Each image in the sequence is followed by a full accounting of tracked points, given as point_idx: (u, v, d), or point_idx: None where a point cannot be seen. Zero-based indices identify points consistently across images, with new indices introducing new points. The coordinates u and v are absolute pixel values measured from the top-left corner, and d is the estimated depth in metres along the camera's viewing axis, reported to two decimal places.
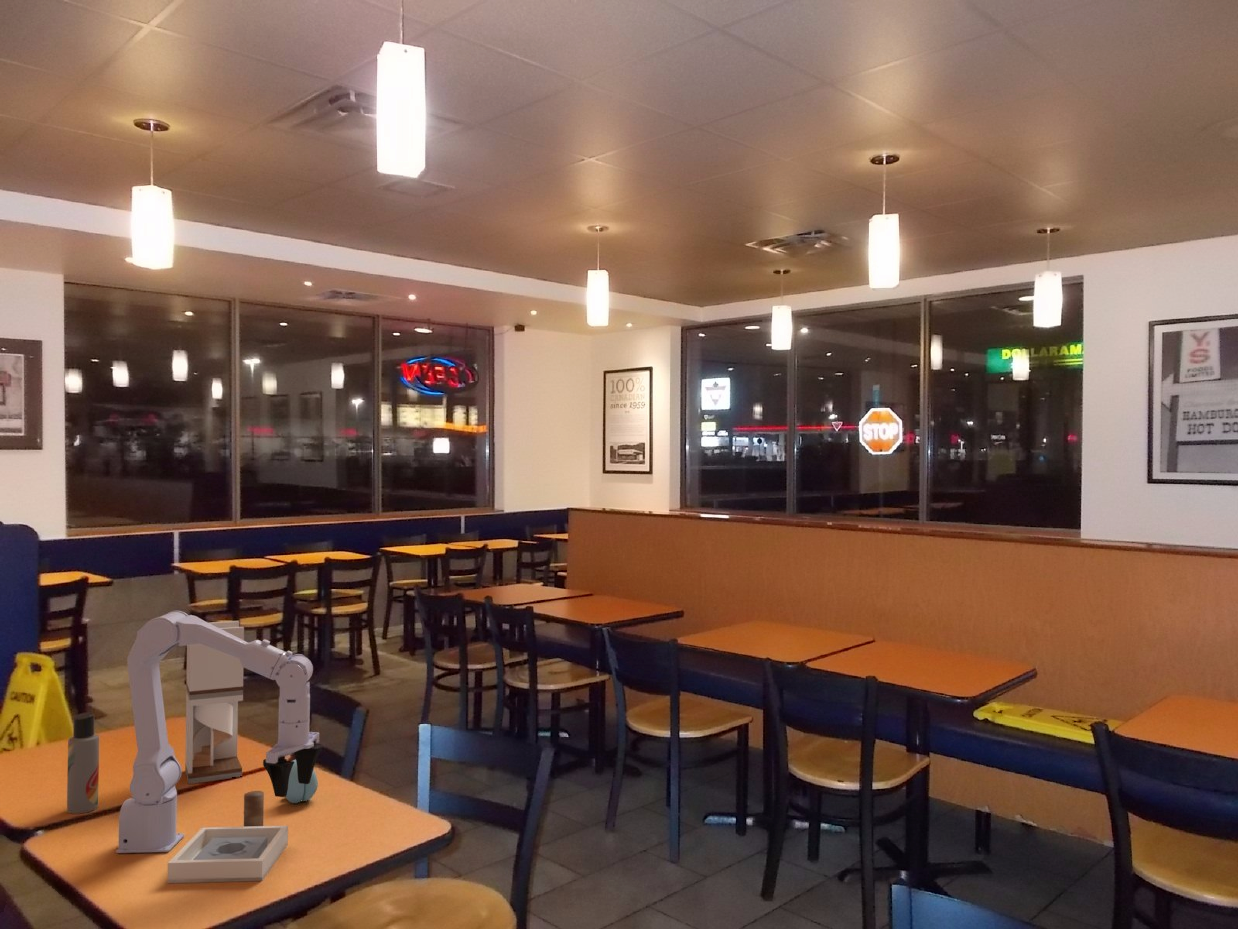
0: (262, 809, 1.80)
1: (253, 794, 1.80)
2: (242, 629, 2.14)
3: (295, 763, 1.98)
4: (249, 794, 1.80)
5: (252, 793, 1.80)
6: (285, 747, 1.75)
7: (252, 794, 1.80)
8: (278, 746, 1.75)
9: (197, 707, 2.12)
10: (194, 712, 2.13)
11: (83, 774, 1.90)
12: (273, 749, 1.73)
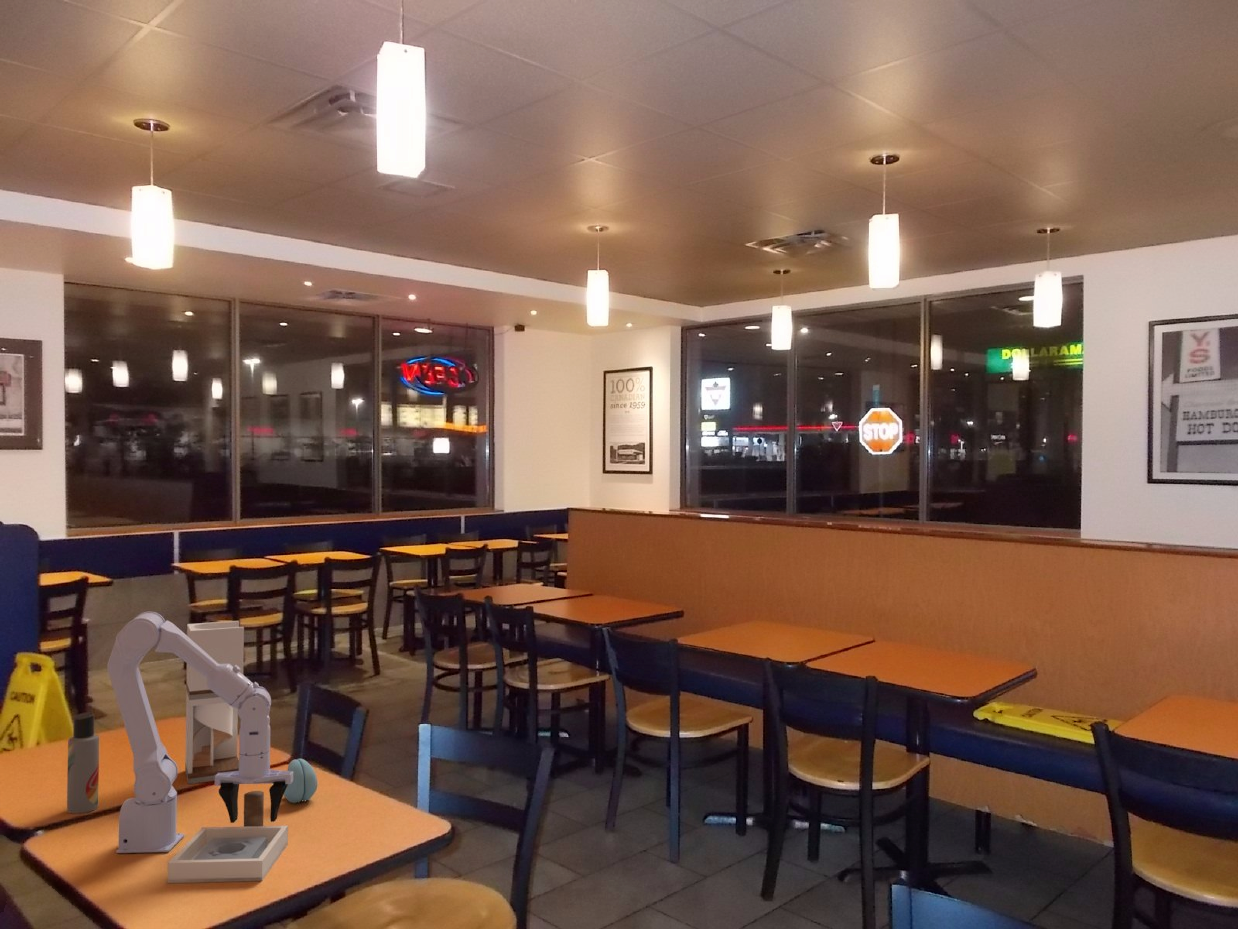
0: (262, 809, 1.80)
1: (253, 794, 1.80)
2: (242, 629, 2.14)
3: (295, 763, 1.98)
4: (249, 794, 1.80)
5: (252, 793, 1.80)
6: (237, 775, 1.79)
7: (252, 794, 1.80)
8: None
9: (197, 707, 2.12)
10: (194, 712, 2.13)
11: (83, 774, 1.90)
12: (231, 773, 1.81)
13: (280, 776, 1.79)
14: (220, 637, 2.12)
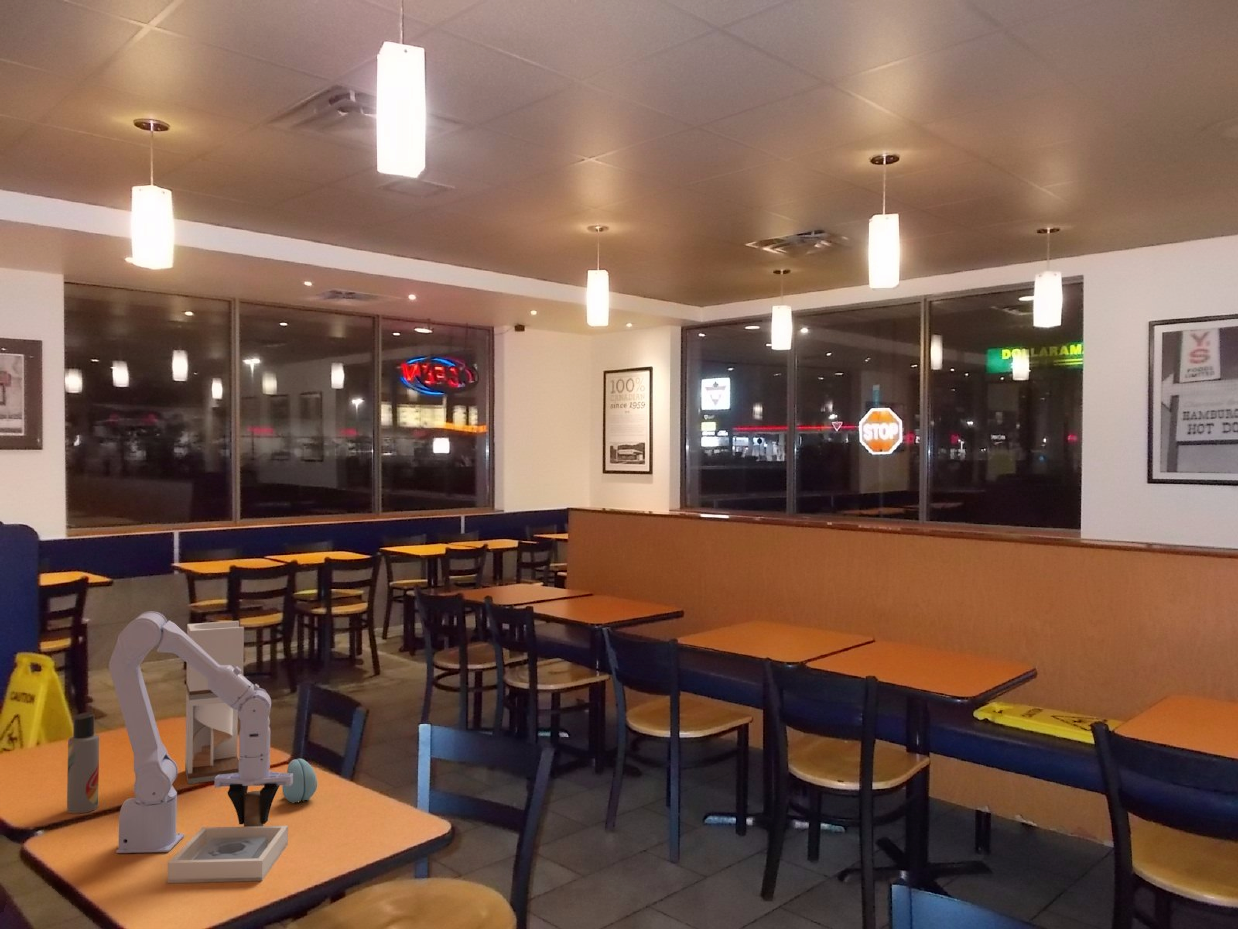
0: None
1: (253, 794, 1.80)
2: (242, 629, 2.14)
3: (294, 763, 1.98)
4: (249, 794, 1.80)
5: (252, 793, 1.80)
6: (237, 777, 1.79)
7: (252, 794, 1.80)
8: None
9: (197, 707, 2.12)
10: (194, 712, 2.13)
11: (83, 774, 1.90)
12: (231, 775, 1.81)
13: (280, 778, 1.79)
14: (220, 637, 2.12)
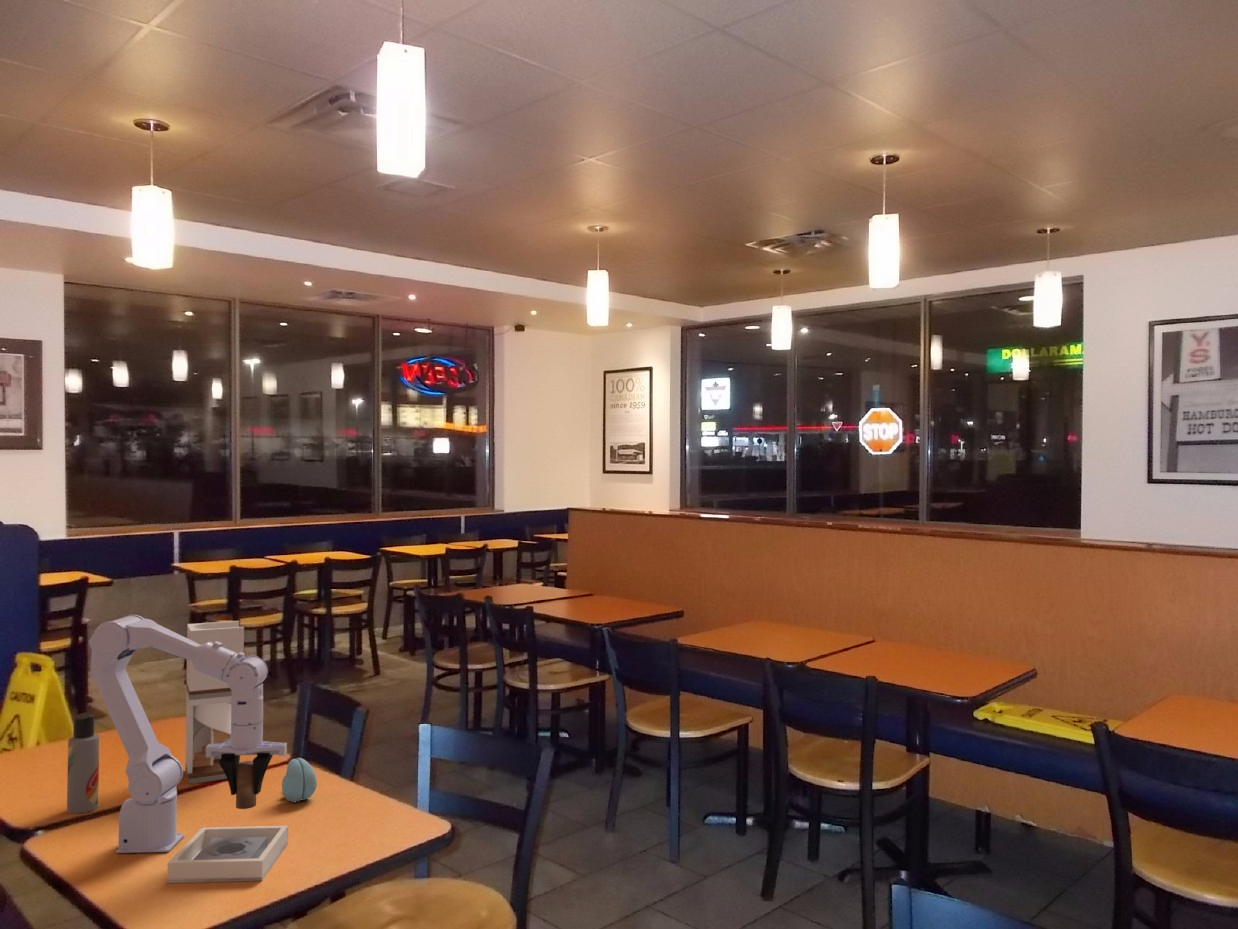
0: None
1: (246, 764, 1.75)
2: (242, 629, 2.14)
3: (294, 762, 1.98)
4: (242, 763, 1.75)
5: (245, 763, 1.76)
6: (229, 746, 1.75)
7: (245, 764, 1.75)
8: None
9: (197, 707, 2.12)
10: (194, 712, 2.13)
11: (83, 774, 1.90)
12: (222, 744, 1.76)
13: (273, 747, 1.74)
14: (220, 637, 2.12)
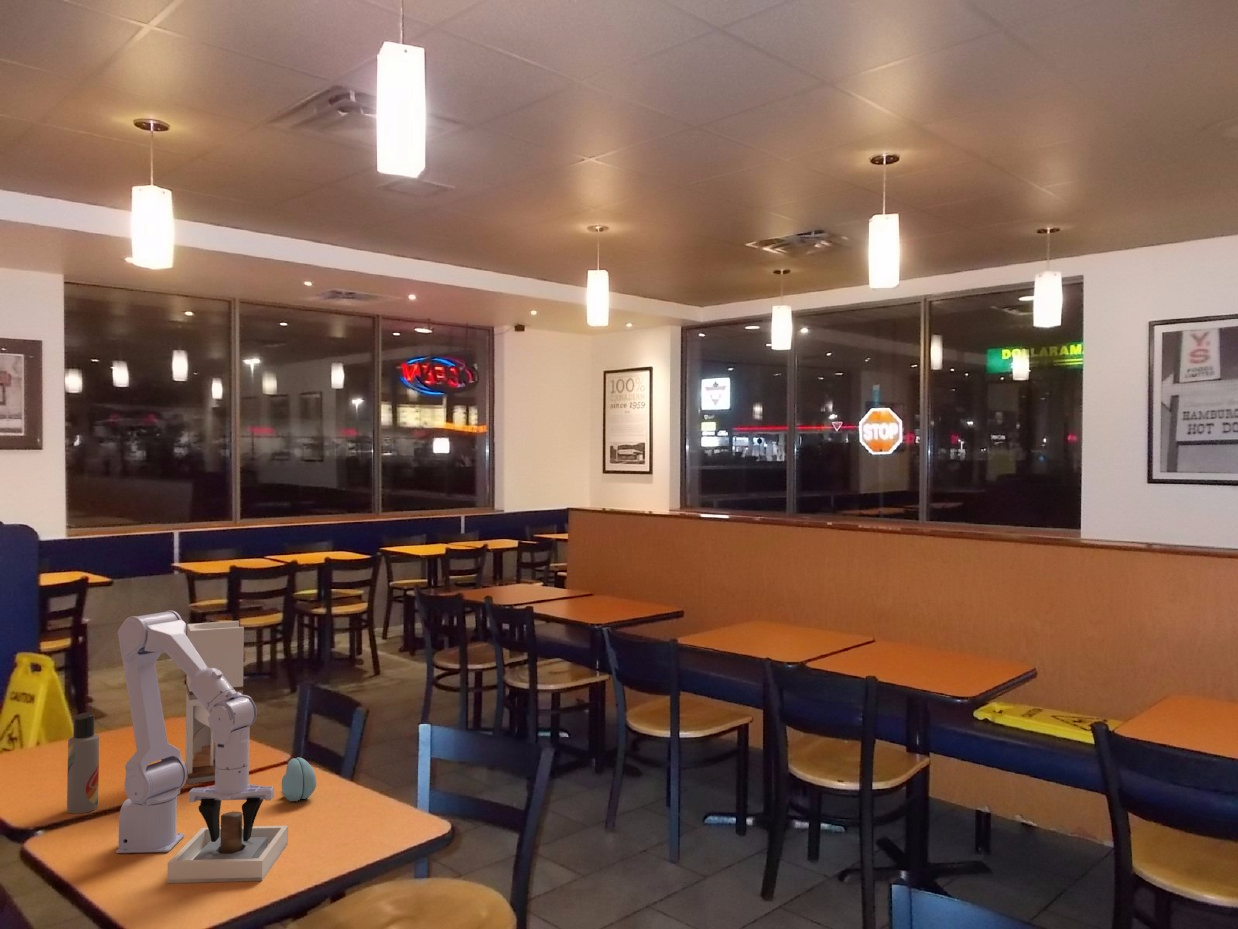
0: (240, 831, 1.67)
1: (231, 815, 1.67)
2: (242, 629, 2.14)
3: (294, 762, 1.99)
4: (227, 815, 1.67)
5: (230, 814, 1.68)
6: (214, 790, 1.67)
7: (230, 815, 1.67)
8: None
9: (197, 707, 2.12)
10: (194, 712, 2.13)
11: (83, 774, 1.90)
12: (207, 788, 1.68)
13: (259, 792, 1.66)
14: (220, 637, 2.12)
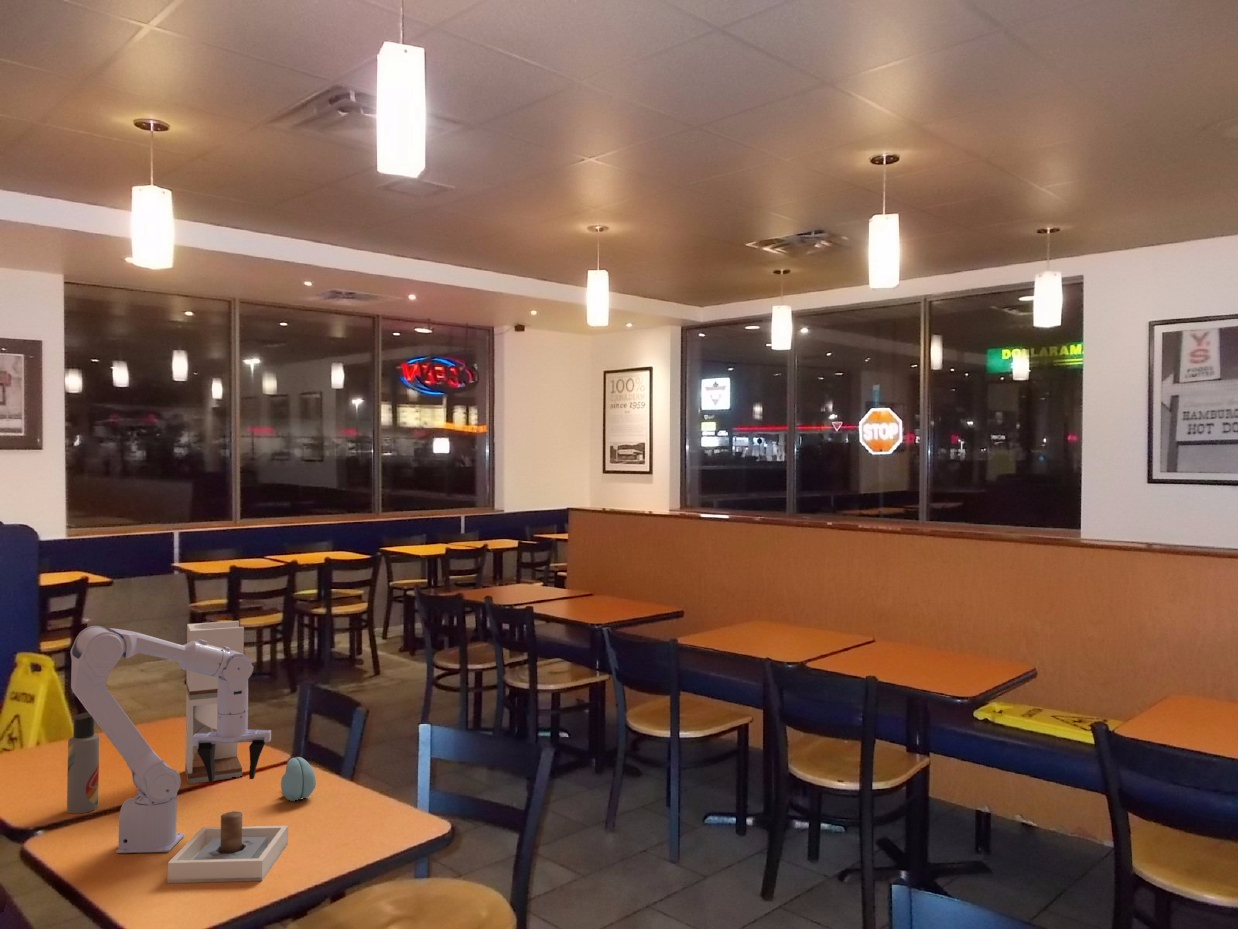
0: (240, 831, 1.67)
1: (231, 815, 1.67)
2: (242, 629, 2.14)
3: (293, 761, 1.99)
4: (226, 815, 1.67)
5: (230, 814, 1.68)
6: (215, 735, 1.83)
7: (230, 815, 1.67)
8: None
9: (197, 707, 2.12)
10: (194, 712, 2.13)
11: (83, 774, 1.90)
12: (208, 733, 1.84)
13: (259, 734, 1.84)
14: (220, 637, 2.12)
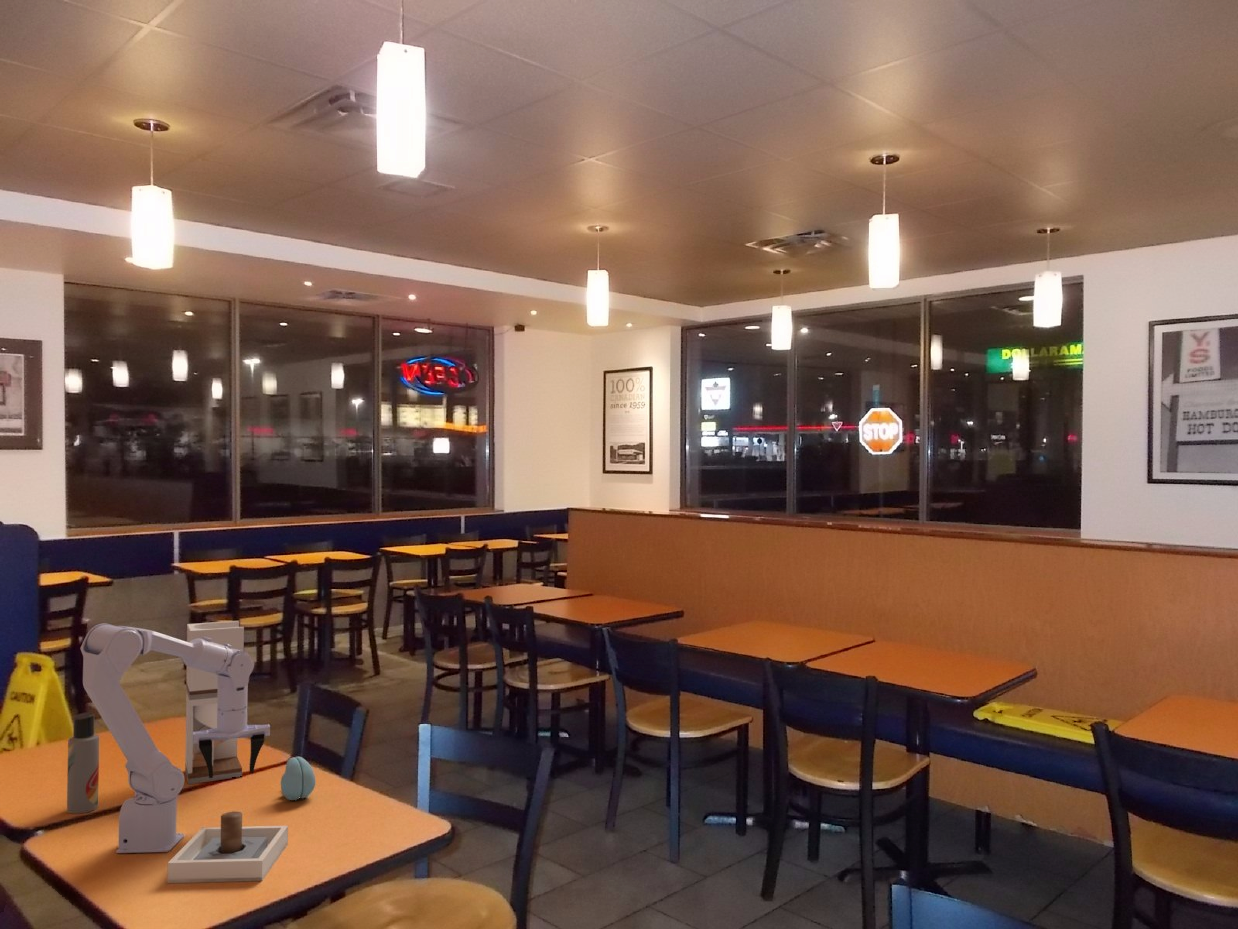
0: (240, 831, 1.67)
1: (231, 815, 1.67)
2: (242, 629, 2.14)
3: (293, 761, 1.99)
4: (226, 815, 1.67)
5: (230, 814, 1.68)
6: (215, 731, 1.86)
7: (230, 815, 1.67)
8: None
9: (197, 707, 2.12)
10: (194, 712, 2.13)
11: (83, 774, 1.90)
12: (206, 731, 1.86)
13: (260, 729, 1.89)
14: (220, 637, 2.12)
